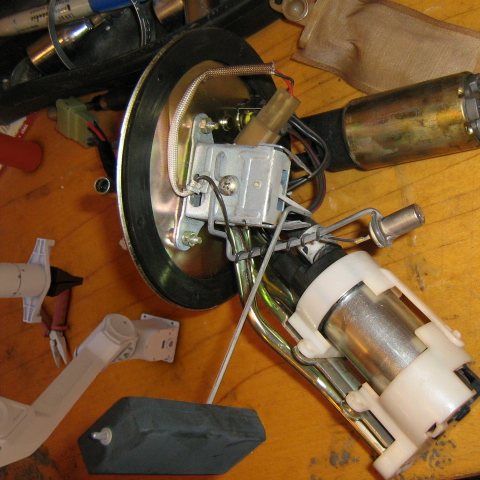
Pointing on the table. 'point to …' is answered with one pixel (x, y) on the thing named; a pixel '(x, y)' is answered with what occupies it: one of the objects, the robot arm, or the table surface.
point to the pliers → (56, 327)
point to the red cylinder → (19, 153)
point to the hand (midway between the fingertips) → (79, 280)
